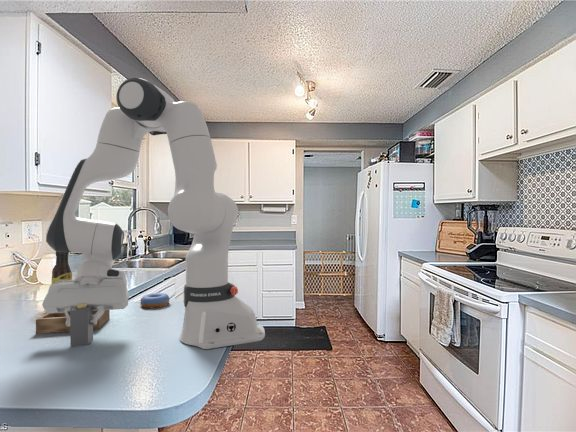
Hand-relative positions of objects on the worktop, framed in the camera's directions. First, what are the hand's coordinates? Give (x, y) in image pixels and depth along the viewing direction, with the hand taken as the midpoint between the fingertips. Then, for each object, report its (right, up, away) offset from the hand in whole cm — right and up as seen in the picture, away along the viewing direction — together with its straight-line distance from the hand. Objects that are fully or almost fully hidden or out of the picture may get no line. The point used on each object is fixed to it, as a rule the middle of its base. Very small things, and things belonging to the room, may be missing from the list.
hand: (81, 324), depth 90 cm
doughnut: (+5, -5, +38) cm, 39 cm away
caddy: (-10, -5, +15) cm, 19 cm away
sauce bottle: (-29, -5, +38) cm, 48 cm away
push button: (0, -5, +1) cm, 5 cm away
